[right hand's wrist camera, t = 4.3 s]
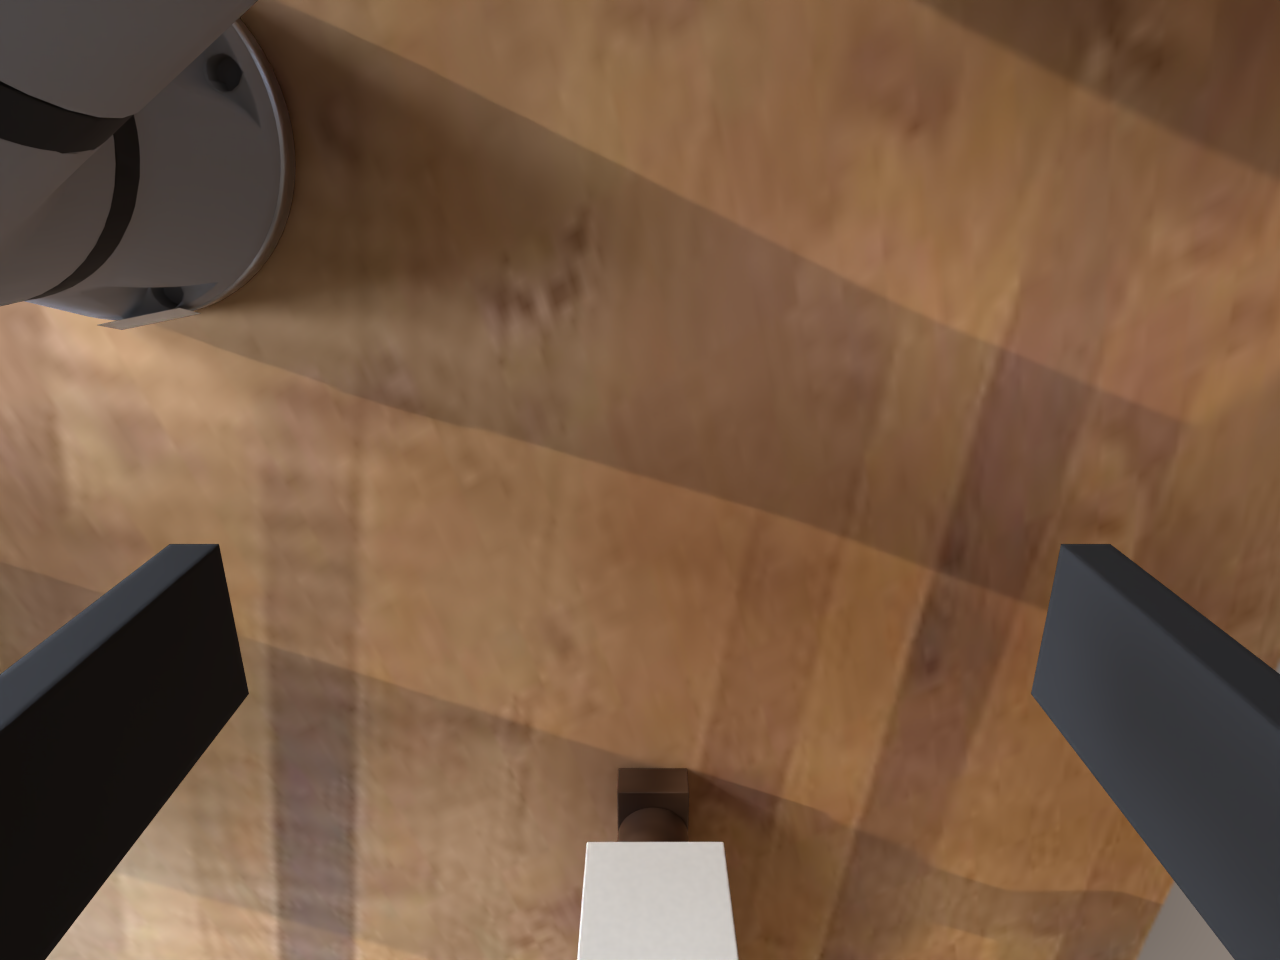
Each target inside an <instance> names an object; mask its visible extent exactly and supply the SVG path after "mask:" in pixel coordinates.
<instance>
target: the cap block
mask: <svg viewBox="0 0 1280 960" xmlns="http://www.w3.org/2000/svg"><path fill="white" fill-rule="evenodd" d="M577 960H739V955H738V947H737V939H736V931H735V924H734V916H733V908H732V900H731V893H730V885H729V877H728V869H727V862H726V854H725V846H724V842H587V844H586V856H585V869H584V881H583V894H582V906H581V919H580V931H579V944H578V956H577Z"/></svg>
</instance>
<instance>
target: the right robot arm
mask: <svg viewBox="0 0 1280 960" xmlns="http://www.w3.org/2000/svg"><path fill="white" fill-rule="evenodd" d="M257 1H258V0H0V306H3V305H9V304H13V303H17V302H22V301H25V302H30V303H34V304H38V305H42V306H46V307H51V308H55V309H59V310H63V311H67V312H72V313H76V314H80V315H84V316H88V317H94V318H100V319H108V320H118V321H113V322H109V323H104V324H99V326H104V327H110V328H115V329H120V330H124V329H129V328H133V327H138V326H143V325H148V324H153V323H158V322H163V321H167V320H172V319H177V318H182V317H187V316H192V315H196V314H201V313H198V312H194V311H195V310H198V309H201V308H204V307H207V306H210V305H212V304H214V303H216V302H218V301H221V300H223V299H224V298H226V297H228V296H229V295H231V294H232V293H234V292H236V291H237V290H238V289H239V288H241V287H242V286H243V285H245V284H246V283H247V282H248V281H249V280H250V279H251V278H252V277H253V276H254V275H255V274H256V273H257V272H258V271H259V270H260V269H261V267H262V266H263V265H264V264H265V262H266V261H267V260H268V258H269V257H270V255H271V253H272V252H273V250H274V249H275V247H276V245H277V243H278V241H279V239H280V237H281V235H282V233H283V230H284V227H285V225H286V222H287V219H288V216H289V212H290V208H291V204H292V199H293V192H294V185H295V146H294V139H293V133H292V126H291V122H290V118H289V114H288V109H287V106H286V103H285V100H284V97H283V94H282V91H281V88H280V86H279V83H278V81H277V79H276V76H275V74H274V71H273V69H272V68H271V66H270V64H269V62H268V60H267V58H266V56H265V54H264V52H263V51H262V49H261V47H260V46H259V44H258V43H257V41H256V39H255V38H254V36H253V35H252V33H251V32H250V31H249V29H248V28H247V27H246V25H245V24H244V23H243V21H242V20H241V19H240V17H241V16H242V15H243V14H244V13H245V12H246V11H247V10H248V9H249V8H250V7H251V6H252V5H253V4H254V3H255V2H257ZM248 694H249V692H248V687H247V682H246V677H245V672H244V667H243V662H242V657H241V652H240V647H239V642H238V637H237V632H236V627H235V622H234V617H233V612H232V607H231V602H230V597H229V592H228V587H227V582H226V577H225V572H224V567H223V562H222V557H221V552H220V547H219V544H169V545H168V546H167V547H165V548H164V549H163V550H161V551H160V552H159V553H158V554H156V555H155V556H154V557H152V558H151V559H150V560H148V561H147V562H146V563H145V564H143V565H142V566H141V567H139V568H138V569H137V570H135V571H134V572H133V573H132V574H130V575H129V576H128V577H126V578H125V579H124V580H122V581H121V582H120V583H119V584H117V585H116V586H115V587H113V588H112V589H111V590H109V591H108V592H107V593H106V594H104V595H103V596H102V597H100V598H99V599H98V600H96V601H95V602H94V603H92V604H91V605H90V606H89V607H87V608H86V609H85V610H83V611H82V612H81V613H79V614H78V615H77V616H76V617H74V618H73V619H72V620H70V621H69V622H68V623H66V624H65V625H64V626H63V627H61V628H60V629H59V630H57V631H56V632H55V633H53V634H52V635H51V636H50V637H48V638H47V639H46V640H44V641H43V642H42V643H40V644H39V645H38V646H37V647H35V648H34V649H33V650H31V651H30V652H29V653H27V654H26V655H25V656H24V657H22V658H21V659H20V660H18V661H17V662H16V663H14V664H13V665H12V666H10V667H9V668H8V669H7V670H5V671H4V672H3V673H1V674H0V960H45V959H46V958H47V957H48V955H49V954H50V953H51V951H52V950H53V949H54V948H55V946H56V945H57V944H58V942H59V941H60V940H61V938H62V937H63V936H64V934H65V933H66V932H67V931H68V929H69V928H70V927H71V925H72V924H73V923H74V921H75V920H76V919H77V917H78V916H79V915H80V914H81V912H82V911H83V910H84V908H85V907H86V906H87V904H88V903H89V902H90V900H91V899H92V898H93V897H94V895H95V894H96V893H97V891H98V890H99V889H100V887H101V886H102V885H103V884H104V882H105V881H106V880H107V878H108V877H109V876H110V874H111V873H112V872H113V870H114V869H115V868H116V867H117V865H118V864H119V863H120V861H121V860H122V859H123V857H124V856H125V855H126V853H127V852H128V851H129V850H130V848H131V847H132V846H133V844H134V843H135V842H136V840H137V839H138V838H139V836H140V835H141V834H142V833H143V831H144V830H145V829H146V827H147V826H148V825H149V823H150V822H151V821H152V820H153V818H154V817H155V816H156V814H157V813H158V812H159V810H160V809H161V808H162V806H163V805H164V804H165V803H166V801H167V800H168V799H169V797H170V796H171V795H172V793H173V792H174V791H175V789H176V788H177V787H178V786H179V784H180V783H181V782H182V780H183V779H184V778H185V776H186V775H187V774H188V773H189V771H190V770H191V769H192V767H193V766H194V765H195V763H196V762H197V761H198V759H199V758H200V757H201V756H202V754H203V753H204V752H205V750H206V749H207V748H208V746H209V745H210V744H211V742H212V741H213V740H214V739H215V737H216V736H217V735H218V733H219V732H220V731H221V729H222V728H223V727H224V725H225V724H226V723H227V722H228V720H229V719H230V718H231V716H232V715H233V714H234V712H235V711H236V710H237V709H238V707H239V706H240V705H241V703H242V702H243V701H244V699H245V698H246V697H247V695H248ZM1031 694H1032V695H1033V697H1034V698H1035V699H1036V701H1037V702H1038V703H1039V705H1040V706H1041V707H1042V709H1043V710H1044V711H1045V712H1046V714H1047V715H1048V716H1049V718H1050V719H1051V720H1052V722H1053V723H1054V724H1055V725H1056V727H1057V728H1058V729H1059V731H1060V732H1061V733H1062V735H1063V736H1064V737H1065V739H1066V740H1067V741H1068V742H1069V744H1070V745H1071V746H1072V748H1073V749H1074V750H1075V752H1076V753H1077V754H1078V756H1079V757H1080V758H1081V759H1082V761H1083V762H1084V763H1085V765H1086V766H1087V767H1088V769H1089V770H1090V771H1091V773H1092V774H1093V775H1094V776H1095V778H1096V779H1097V780H1098V782H1099V783H1100V784H1101V786H1102V787H1103V788H1104V789H1105V791H1106V792H1107V793H1108V795H1109V796H1110V797H1111V799H1112V800H1113V801H1114V803H1115V804H1116V805H1117V806H1118V808H1119V809H1120V810H1121V812H1122V813H1123V814H1124V816H1125V817H1126V818H1127V820H1128V821H1129V822H1130V823H1131V825H1132V826H1133V827H1134V829H1135V830H1136V831H1137V833H1138V834H1139V835H1140V836H1141V838H1142V839H1143V840H1144V842H1145V843H1146V844H1147V846H1148V847H1149V848H1150V850H1151V851H1152V852H1153V853H1154V855H1155V856H1156V857H1157V859H1158V860H1159V861H1160V863H1161V864H1162V865H1163V867H1164V868H1165V869H1166V870H1167V872H1168V873H1169V874H1170V876H1171V877H1172V878H1173V880H1174V881H1175V882H1176V883H1177V885H1178V886H1179V887H1180V889H1181V890H1182V891H1183V893H1184V894H1185V895H1186V897H1187V898H1188V899H1189V900H1190V902H1191V903H1192V904H1193V906H1194V907H1195V908H1196V910H1197V911H1198V912H1199V914H1200V915H1201V916H1202V917H1203V919H1204V920H1205V921H1206V923H1207V924H1208V925H1209V927H1210V928H1211V929H1212V930H1213V932H1214V933H1215V934H1216V936H1217V937H1218V938H1219V940H1220V941H1221V942H1222V944H1223V945H1224V946H1225V947H1226V949H1227V950H1228V951H1229V953H1230V954H1231V955H1232V957H1233V958H1234V959H1235V960H1280V674H1279V673H1277V672H1276V671H1275V670H1273V669H1272V668H1271V667H1270V666H1268V665H1267V664H1266V663H1264V662H1263V661H1262V660H1260V659H1259V658H1258V657H1256V656H1255V655H1254V654H1253V653H1251V652H1250V651H1249V650H1247V649H1246V648H1245V647H1243V646H1242V645H1241V644H1240V643H1238V642H1237V641H1236V640H1234V639H1233V638H1232V637H1230V636H1229V635H1228V634H1227V633H1225V632H1224V631H1223V630H1221V629H1220V628H1219V627H1217V626H1216V625H1215V624H1214V623H1212V622H1211V621H1210V620H1208V619H1207V618H1206V617H1204V616H1203V615H1202V614H1201V613H1199V612H1198V611H1197V610H1195V609H1194V608H1193V607H1191V606H1190V605H1189V604H1187V603H1186V602H1185V601H1184V600H1182V599H1181V598H1180V597H1178V596H1177V595H1176V594H1174V593H1173V592H1172V591H1171V590H1169V589H1168V588H1167V587H1165V586H1164V585H1163V584H1161V583H1160V582H1159V581H1158V580H1156V579H1155V578H1154V577H1152V576H1151V575H1150V574H1148V573H1147V572H1146V571H1145V570H1143V569H1142V568H1141V567H1139V566H1138V565H1137V564H1135V563H1134V562H1133V561H1132V560H1130V559H1129V558H1128V557H1126V556H1125V555H1124V554H1122V553H1121V552H1120V551H1119V550H1117V549H1116V548H1115V547H1113V546H1112V545H1111V544H1061V547H1060V552H1059V557H1058V562H1057V567H1056V572H1055V577H1054V582H1053V587H1052V592H1051V597H1050V602H1049V607H1048V612H1047V617H1046V622H1045V627H1044V632H1043V637H1042V642H1041V647H1040V652H1039V657H1038V662H1037V667H1036V672H1035V677H1034V682H1033V687H1032V692H1031Z"/></svg>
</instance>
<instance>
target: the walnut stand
mask: <svg viewBox="0 0 1280 960" xmlns="http://www.w3.org/2000/svg"><path fill="white" fill-rule="evenodd" d="M617 799H618V842H689V841H688V812H689V786H688V774H687V769H618V791H617Z"/></svg>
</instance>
